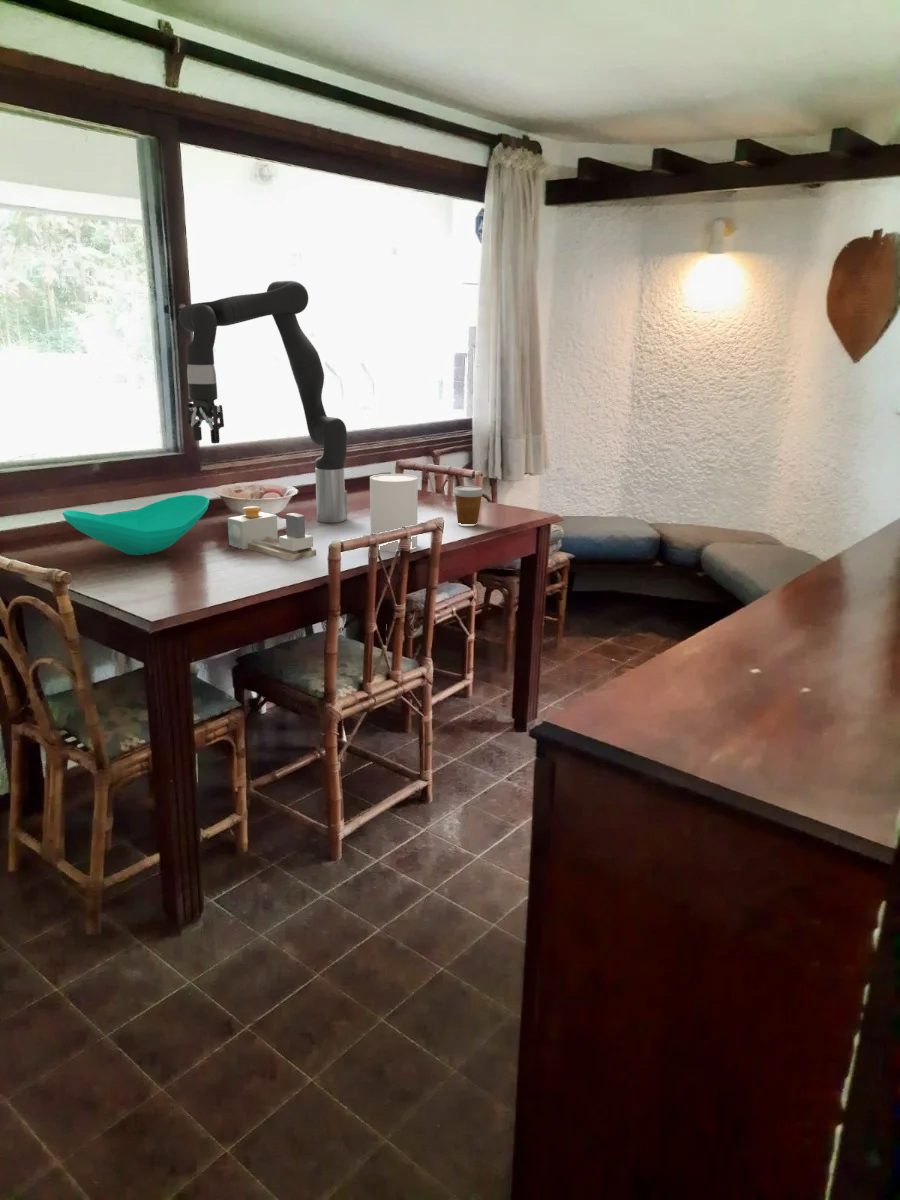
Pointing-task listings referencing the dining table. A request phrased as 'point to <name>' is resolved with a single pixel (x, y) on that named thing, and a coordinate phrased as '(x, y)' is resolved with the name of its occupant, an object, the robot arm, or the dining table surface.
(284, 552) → the rail track
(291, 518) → the carriage
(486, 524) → the dining table surface
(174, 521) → the table top decor
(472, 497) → the disposable coffee cup
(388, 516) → the canister
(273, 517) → the end cabinet
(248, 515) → the button
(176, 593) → the dining table surface
